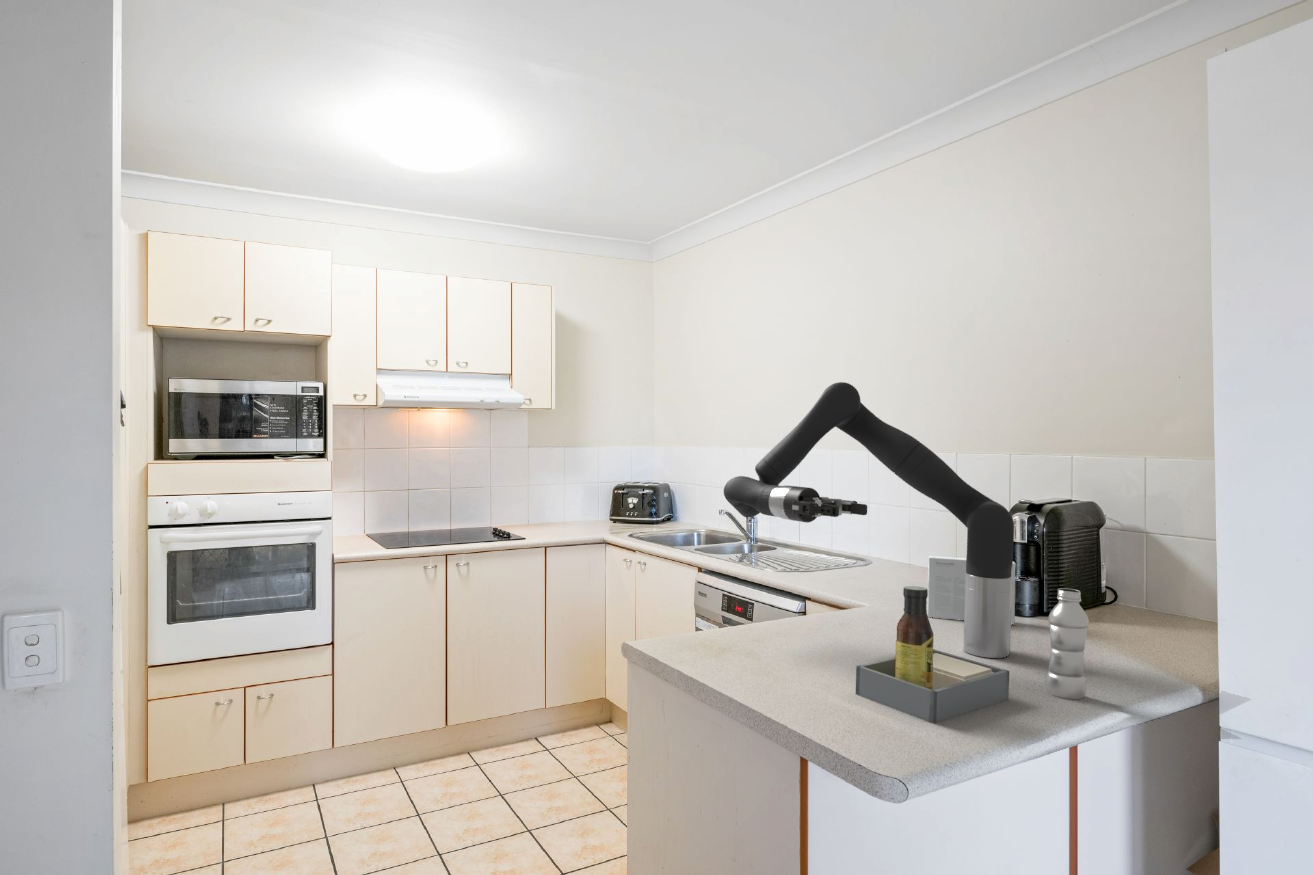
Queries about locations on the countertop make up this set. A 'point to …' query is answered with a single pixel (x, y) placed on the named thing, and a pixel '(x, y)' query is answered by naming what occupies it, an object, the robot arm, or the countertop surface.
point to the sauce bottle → (915, 640)
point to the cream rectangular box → (954, 671)
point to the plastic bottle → (1067, 646)
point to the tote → (930, 691)
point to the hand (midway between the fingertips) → (852, 510)
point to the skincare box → (953, 588)
